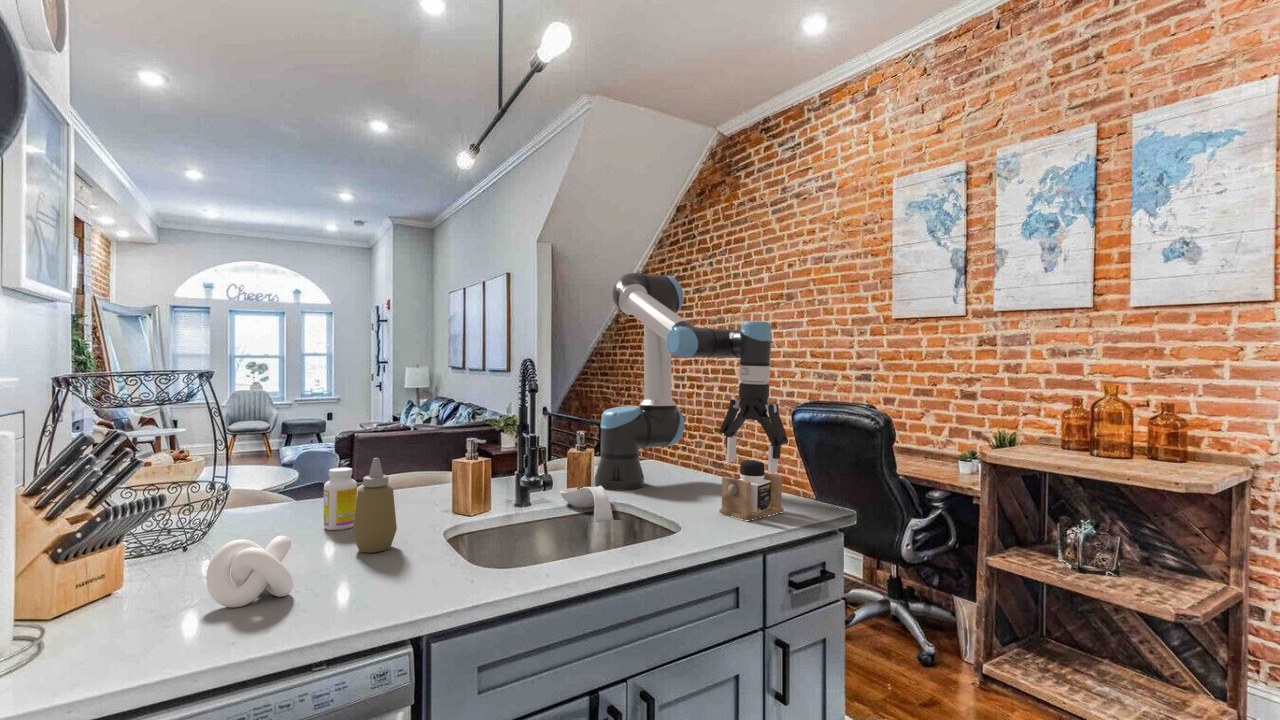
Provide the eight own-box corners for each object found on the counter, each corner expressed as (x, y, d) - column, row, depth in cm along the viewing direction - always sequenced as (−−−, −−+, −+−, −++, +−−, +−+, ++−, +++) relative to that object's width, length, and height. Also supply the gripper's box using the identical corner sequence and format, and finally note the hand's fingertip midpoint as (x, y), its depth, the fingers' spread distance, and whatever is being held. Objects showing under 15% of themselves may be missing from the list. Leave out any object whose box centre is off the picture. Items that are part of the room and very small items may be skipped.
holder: (717, 513, 149) (718, 477, 149) (757, 505, 159) (757, 470, 158) (745, 522, 142) (746, 483, 142) (784, 512, 152) (785, 476, 151)
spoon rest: (554, 501, 160) (555, 474, 160) (596, 497, 165) (596, 471, 165) (581, 525, 138) (581, 494, 138) (628, 520, 143) (628, 490, 143)
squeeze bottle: (380, 557, 114) (381, 463, 114) (343, 553, 115) (344, 460, 115) (405, 544, 122) (406, 456, 121) (369, 541, 123) (371, 454, 123)
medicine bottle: (757, 513, 145) (758, 464, 145) (732, 508, 150) (732, 461, 150) (771, 508, 151) (771, 461, 151) (745, 503, 155) (746, 457, 155)
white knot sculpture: (239, 582, 100) (240, 529, 100) (314, 581, 101) (314, 529, 101) (195, 612, 89) (196, 552, 89) (280, 610, 90) (281, 551, 90)
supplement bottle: (362, 523, 136) (363, 467, 136) (345, 531, 129) (346, 472, 129) (335, 521, 136) (335, 465, 136) (316, 530, 130) (317, 471, 130)
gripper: (708, 379, 157) (705, 459, 158) (785, 386, 138) (781, 477, 139) (727, 379, 162) (725, 456, 163) (805, 386, 143) (801, 474, 143)
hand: (751, 466), depth 151 cm, fingers open, 13 cm apart
